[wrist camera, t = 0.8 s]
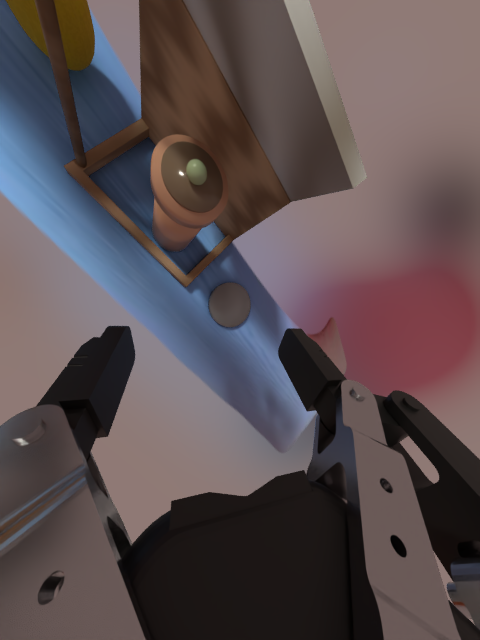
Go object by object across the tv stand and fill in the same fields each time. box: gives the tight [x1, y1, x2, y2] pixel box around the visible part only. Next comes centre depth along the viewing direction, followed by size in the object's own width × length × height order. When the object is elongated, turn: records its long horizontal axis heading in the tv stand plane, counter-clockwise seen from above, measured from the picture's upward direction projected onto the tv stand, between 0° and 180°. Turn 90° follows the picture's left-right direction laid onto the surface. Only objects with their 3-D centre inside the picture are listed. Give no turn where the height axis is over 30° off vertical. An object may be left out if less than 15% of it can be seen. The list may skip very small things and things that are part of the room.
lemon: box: [6, 0, 95, 71], centre depth 14 cm, size 6×6×8 cm
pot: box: [150, 134, 229, 252], centre depth 18 cm, size 6×6×14 cm
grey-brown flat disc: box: [208, 283, 251, 327], centre depth 28 cm, size 7×7×1 cm
